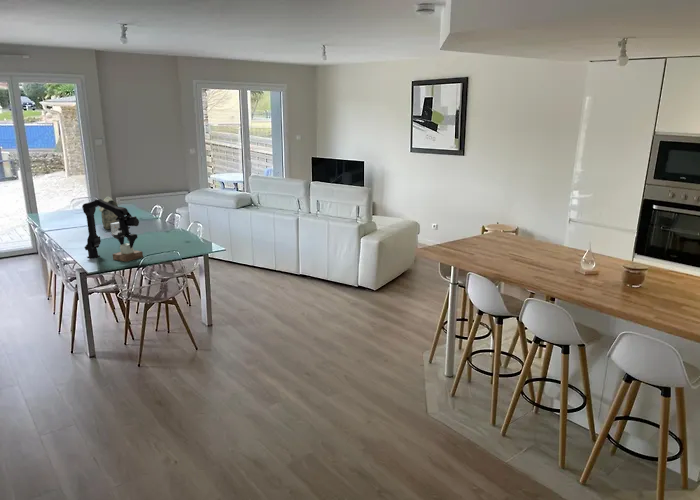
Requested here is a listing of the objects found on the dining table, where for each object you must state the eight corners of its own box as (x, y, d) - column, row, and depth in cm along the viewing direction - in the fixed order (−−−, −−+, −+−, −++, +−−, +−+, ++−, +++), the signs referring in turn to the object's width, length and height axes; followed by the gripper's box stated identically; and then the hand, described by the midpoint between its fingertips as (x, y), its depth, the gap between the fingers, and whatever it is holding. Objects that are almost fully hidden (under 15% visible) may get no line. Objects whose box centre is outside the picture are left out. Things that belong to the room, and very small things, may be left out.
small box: (120, 233, 440) (119, 221, 437) (124, 234, 437) (122, 222, 434) (111, 235, 434) (109, 223, 432) (114, 236, 431) (113, 224, 428)
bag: (100, 225, 472) (96, 196, 465) (119, 223, 480) (115, 195, 473) (103, 230, 454) (99, 200, 446) (123, 228, 462) (119, 198, 455)
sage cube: (121, 253, 361) (119, 245, 360) (128, 251, 366) (127, 243, 365) (126, 254, 359) (125, 246, 357) (133, 252, 364) (132, 244, 362)
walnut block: (113, 259, 361) (112, 253, 360) (129, 254, 373) (129, 249, 372) (126, 261, 354) (125, 256, 353) (143, 256, 366) (142, 251, 365)
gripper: (105, 227, 355) (108, 248, 359) (123, 229, 346) (126, 251, 350) (118, 224, 364) (121, 245, 368) (136, 226, 356) (139, 247, 360)
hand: (126, 247), depth 361 cm, fingers open, 9 cm apart
